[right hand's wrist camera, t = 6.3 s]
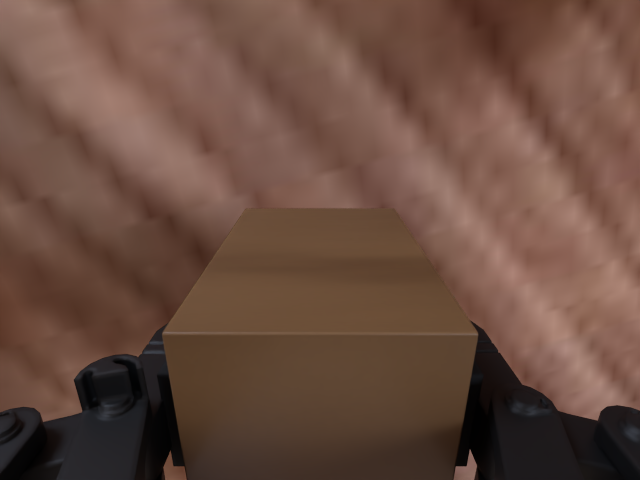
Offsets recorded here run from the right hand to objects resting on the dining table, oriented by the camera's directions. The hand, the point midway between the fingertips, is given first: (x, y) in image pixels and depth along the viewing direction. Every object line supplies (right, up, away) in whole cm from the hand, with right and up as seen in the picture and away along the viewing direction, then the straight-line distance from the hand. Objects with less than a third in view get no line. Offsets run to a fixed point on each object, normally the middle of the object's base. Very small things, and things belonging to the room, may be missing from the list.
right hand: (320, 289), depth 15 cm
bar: (0, -8, +3) cm, 9 cm away
